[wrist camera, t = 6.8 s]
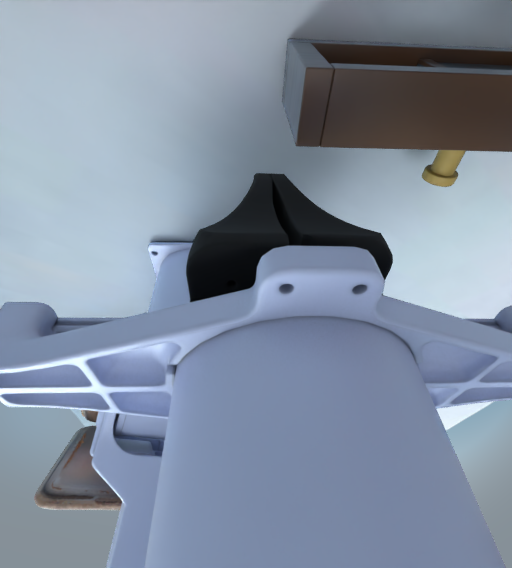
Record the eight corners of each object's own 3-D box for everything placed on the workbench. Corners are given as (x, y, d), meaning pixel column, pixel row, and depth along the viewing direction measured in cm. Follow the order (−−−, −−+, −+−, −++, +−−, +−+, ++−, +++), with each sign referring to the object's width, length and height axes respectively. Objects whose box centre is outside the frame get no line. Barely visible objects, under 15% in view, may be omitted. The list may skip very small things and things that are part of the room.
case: (82, 414, 56) (44, 524, 45) (74, 359, 42) (14, 501, 31) (192, 423, 61) (182, 523, 50) (218, 377, 47) (211, 503, 36)
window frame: (504, 109, 20) (585, 153, 15) (282, 102, 19) (295, 146, 15) (538, 49, 18) (647, 80, 13) (287, 38, 17) (306, 67, 12)
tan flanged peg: (461, 165, 22) (497, 197, 19) (384, 163, 21) (408, 196, 18) (502, 92, 18) (553, 117, 15) (411, 89, 18) (445, 114, 15)
